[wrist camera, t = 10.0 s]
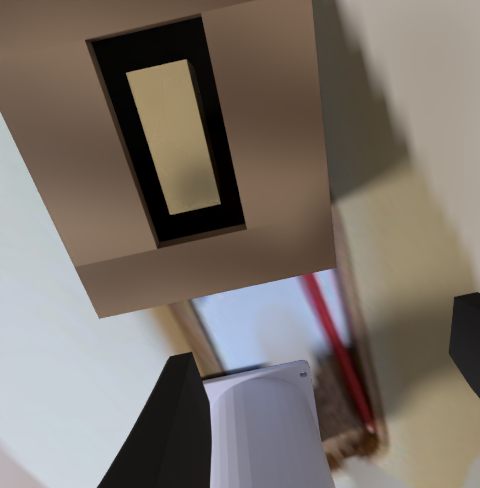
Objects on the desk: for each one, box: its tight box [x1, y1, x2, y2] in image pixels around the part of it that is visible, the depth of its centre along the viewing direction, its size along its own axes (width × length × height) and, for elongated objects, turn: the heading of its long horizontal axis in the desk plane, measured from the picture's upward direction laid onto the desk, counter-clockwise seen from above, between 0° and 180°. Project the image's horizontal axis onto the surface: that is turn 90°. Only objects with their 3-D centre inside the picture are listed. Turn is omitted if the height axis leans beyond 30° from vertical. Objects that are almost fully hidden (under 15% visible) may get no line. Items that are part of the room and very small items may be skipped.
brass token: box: [126, 59, 221, 215], centre depth 14 cm, size 5×2×5 cm, turn 11°
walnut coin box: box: [0, 0, 337, 319], centre depth 14 cm, size 12×10×6 cm
